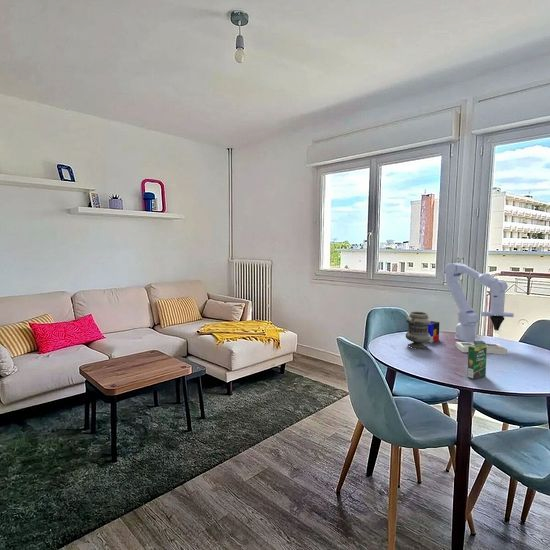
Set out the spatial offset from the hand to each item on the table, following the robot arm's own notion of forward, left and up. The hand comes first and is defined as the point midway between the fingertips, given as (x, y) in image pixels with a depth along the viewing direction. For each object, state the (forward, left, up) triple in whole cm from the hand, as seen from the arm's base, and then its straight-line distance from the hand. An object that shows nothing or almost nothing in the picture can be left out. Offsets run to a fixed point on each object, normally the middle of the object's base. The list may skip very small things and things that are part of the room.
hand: (496, 330), depth 183 cm
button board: (+1, -13, -9) cm, 15 cm away
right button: (+3, -7, -9) cm, 12 cm away
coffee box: (+28, -46, -9) cm, 55 cm away
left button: (-3, -17, -9) cm, 19 cm away
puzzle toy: (-25, -22, -9) cm, 35 cm away
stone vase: (-15, -37, -9) cm, 41 cm away
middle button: (0, -12, -7) cm, 14 cm away
